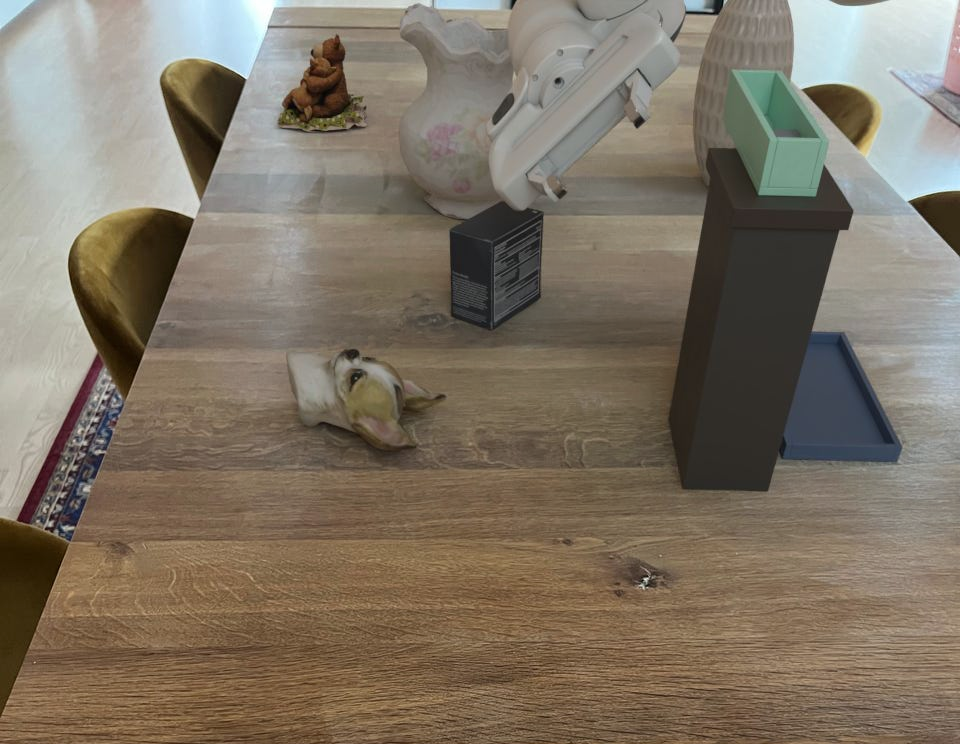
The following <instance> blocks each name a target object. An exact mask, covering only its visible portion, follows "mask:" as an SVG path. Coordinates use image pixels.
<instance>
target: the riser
mask: <svg viewBox="0 0 960 744" xmlns="http://www.w3.org/2000/svg"><path fill="white" fill-rule="evenodd" d="M705 166H706V169H707V171H708V174H709V176H710V183H709V187H708V189H707V194H706V201H705V208H704V212H703V218H702V223H701V229H700V235H699V240H698V246H697V252H696V258H695V262H694V263H695V264H694V270H693V275H692V281H691V287H690V291H689V292H690V293H689V298H688V305H687V309H686V316H685V321H684V326H683V332H682V338H681V343H680V349H679V355H678V362H677V368H676V373H675V378H674V384H673V390H672V396H671V401H670V408H669V412H668V418H667V421H668V426H669V430H670V434H671V439H672V444H673V448H674V453H675V458H676V463H677V468H678V473H679V476H680V482H681V487H682V490H707V491H708V490H709V491H711V490H712V491H747V492H748V491H751V492H752V491H753V492H769V489H770V486H771V482H772V478H773V475H774V471H775V466H776V463H777V460H778V456H779V453H780V450H779V449H780V445H781V442H782V438H783V435H784V431H785V427H786V424H787V420H788V416H789V413H790V409H791V405H792V402H793V398H794V394H795V391H796V387H797V383H798V380H799V376H800V372H801V369H802V365H803V361H804V358H805V354H806V351H807V347H808V343H809V340H810V336H811V332H812V331H813V328H814V325H815V321H816V317H817V315H818V311H819V307H820V303H821V299H822V295H823V292H824V288H825V285H826V282H827V277H828V273H829V270H830V267H831V263H832V259H833V256H834V252H835V248H836V244H837V241H838V237H839V234H840V231H849V229H850V226H851V222H852V218H853V215H854V208H853V206H852V205H851V204H850V202H849V201H848V199H847V197H846V196H845V194H844V193H843V192H842V190H841V189H840V187H839V185H838V183H837V182H836V181H835V178H833V176H832V174H831V172H830V171H829V169H828V168H827V166H826V165H825V164H824V166H823V170H822V174H821V178H820V182H819V186H818V188H817V193H816V196H815V197H811V196H770V195H758V193H757V191H756V189H755V187H754V185H753V183H752V180H751V178H750V176H749V174H748V172H747V170H746V168H745V166H744V164H743V162H742V159H741V157H740V155H739V153H738V151H737V149H736V148H708V154H707V159H706V165H705Z"/></svg>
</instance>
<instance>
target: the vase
mask: <svg viewBox="0 0 960 744" xmlns="http://www.w3.org/2000/svg"><path fill="white" fill-rule="evenodd" d="M794 32H795V31H794V23H793V17H792V11H791V7H790V3H789V1H788V0H726V2H725V3H724V5H723V6H722V8H721V9H720V11H719V13H718V15H717V17H716V19H715V21H714V23H713V25H712V27H711V30H710V32H709V35H708V38H707V41H706V43H705V45H704V50H703V53H702V56H701V59H700V64H699V69H698V74H697V80H696V86H695V92H694V101H693V112H692V136H693V147H694V153H695V154H694V155H695V158H696V164H697V166H698V169H699V172H700V176H701V178H702V180H703V183H704V185H705V186H706V187H708V188H709V183H710V176H709V174H708V171H707V169H706V166H705V165H706V159H707V154H708V148H736V147H735V145H734V143H733V140H732V138H731V136H730V134H729V132H728V130H727V128H726V126H725V124H724V121H723V119H722V118H723V113H724V106H725V101H726V95H727V89H728V84H729V78H730V72H731V69H737V70H739V69H740V70H774V71H775V70H781V71H782V72H783V73H784V75H785V76H786V78H787V79H788V81H789V82H790V83H791V79H792V73H793V68H794V67H793V66H794V57H795V56H794V54H795V42H794V41H795V33H794Z"/></svg>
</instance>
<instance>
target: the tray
mask: <svg viewBox="0 0 960 744" xmlns="http://www.w3.org/2000/svg"><path fill="white" fill-rule="evenodd" d="M902 451H903V445H902V444H901V441H900V440H899V437H898V435H897V433H896V431H895V430H894V427H893V426H892V423H891V421H890V420H889V417H888V416H887V413H886V412H885V409H884V408H883V405H882V404H881V402H880V400H879V398H878V396H877V394H876V391H875V390H874V388H873V386H872V384H871V382H870V380H869V378H868V376H867V374H866V372H865V370H864V369H863V365H862V364H861V362H860V361H859V358H858V356H857V354H856V353H855V350H854V348H853V346H852V344H851V342H850V341H849V338H848V337H847V335H846V332H845V331H815V330H812V332H811V336H810V340H809V343H808V347H807V351H806V354H805V358H804V361H803V365H802V369H801V372H800V376H799V380H798V383H797V387H796V391H795V394H794V398H793V402H792V405H791V409H790V413H789V416H788V420H787V424H786V427H785V431H784V435H783V438H782V442H781V445H780V449H779V453H780V456H781V458H782V460H812V461H813V460H814V461H847V462H848V461H850V462H853V461H854V462H856V461H857V462H885V463H886V462H888V463H889V462H890V463H897V462H898V460H899V458H900V455H901V452H902Z"/></svg>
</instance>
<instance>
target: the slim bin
mask: <svg viewBox="0 0 960 744" xmlns="http://www.w3.org/2000/svg"><path fill="white" fill-rule="evenodd" d="M722 119H723V121H724V124H725V126H726V128H727V130H728V132H729V134H730V136H731V138H732V140H733V143H734V145H735V147H736V149H737V151H738V153H739V155H740V157H741V159H742V162H743V164H744V166H745V168H746V170H747V172H748V174H749V176H750V178H751V180H752V183H753V185H754V187H755V189H756V191H757V193H758V195H770V196H811V197H815V196H816V193H817V188H818V186H819V182H820V178H821V174H822V170H823V166H824V165H825V162H826V157H827V154H828V150H829V145H830V143H831V141H830V139H829V138H828V136H827V135H826V133H825V132H824V130H823V129H822V128H821V126H820V125H819V123H818V122H817V120H816V119H815V118H814V116H813V114H812V113H811V111H810V110H809V108H808V107H807V106H806V104H805V102H804V101H803V100H802V98H801V97H800V95H799V93H798V92H797V91H796V89H795V88H794V87H793V85H792V83H791V81H790V82H789V81H788V79H787V78H786V76H785V75H784V73H783V72H782V71H781V70H775V71H774V70H740V69H739V70H737V69H731V72H730V78H729V84H728V89H727V95H726V101H725V106H724V113H723V118H722Z"/></svg>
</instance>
